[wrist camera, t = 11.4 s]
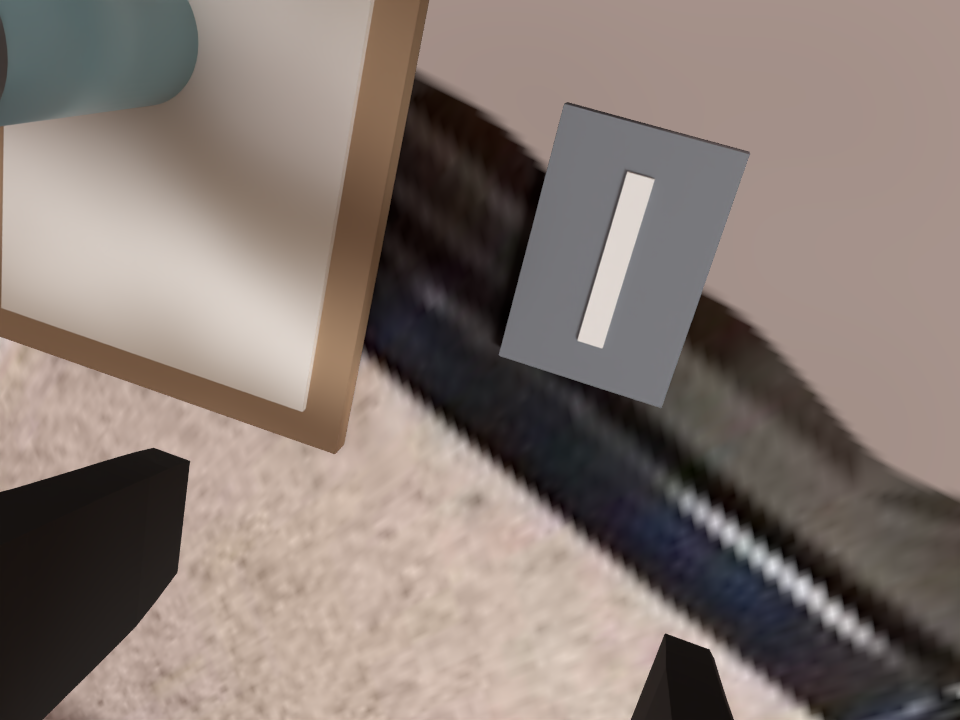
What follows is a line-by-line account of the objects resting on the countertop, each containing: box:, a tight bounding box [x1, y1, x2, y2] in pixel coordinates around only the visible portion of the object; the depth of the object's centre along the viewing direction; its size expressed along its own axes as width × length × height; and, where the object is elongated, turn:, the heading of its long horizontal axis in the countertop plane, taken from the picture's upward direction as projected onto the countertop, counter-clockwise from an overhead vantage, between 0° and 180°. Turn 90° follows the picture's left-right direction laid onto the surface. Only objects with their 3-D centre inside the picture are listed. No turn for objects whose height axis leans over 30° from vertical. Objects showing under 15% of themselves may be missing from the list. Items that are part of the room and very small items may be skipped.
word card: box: [499, 102, 750, 408], centre depth 20 cm, size 6×4×1 cm, turn 167°
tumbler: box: [0, 0, 198, 126], centre depth 18 cm, size 3×3×7 cm
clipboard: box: [0, 0, 429, 454], centre depth 22 cm, size 14×11×1 cm
